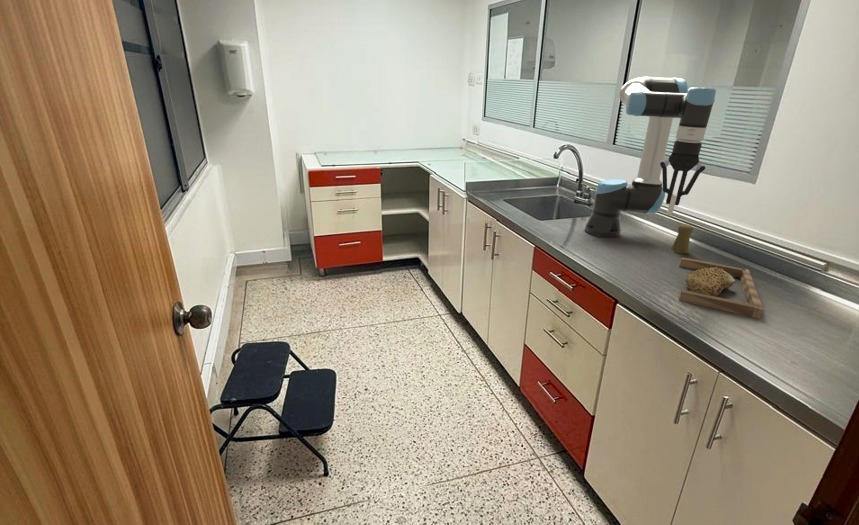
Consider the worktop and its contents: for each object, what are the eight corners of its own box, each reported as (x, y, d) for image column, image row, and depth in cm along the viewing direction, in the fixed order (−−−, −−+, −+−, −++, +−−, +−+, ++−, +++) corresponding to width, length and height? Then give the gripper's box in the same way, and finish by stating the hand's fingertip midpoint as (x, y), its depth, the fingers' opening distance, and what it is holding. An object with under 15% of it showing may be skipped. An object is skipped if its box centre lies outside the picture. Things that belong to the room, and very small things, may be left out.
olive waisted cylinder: (684, 254, 174) (692, 228, 170) (668, 250, 178) (675, 224, 174) (690, 251, 178) (697, 225, 173) (674, 247, 182) (681, 221, 177)
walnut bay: (679, 264, 164) (681, 257, 163) (745, 277, 155) (748, 269, 154) (679, 300, 136) (681, 291, 135) (760, 318, 127) (763, 309, 126)
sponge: (702, 281, 153) (667, 279, 144) (715, 262, 150) (680, 259, 140) (736, 304, 144) (701, 303, 134) (751, 284, 140) (716, 282, 130)
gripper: (665, 140, 135) (647, 213, 144) (713, 144, 130) (692, 220, 139) (665, 137, 141) (648, 208, 151) (712, 141, 136) (691, 214, 145)
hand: (669, 214), depth 145 cm, fingers closed
